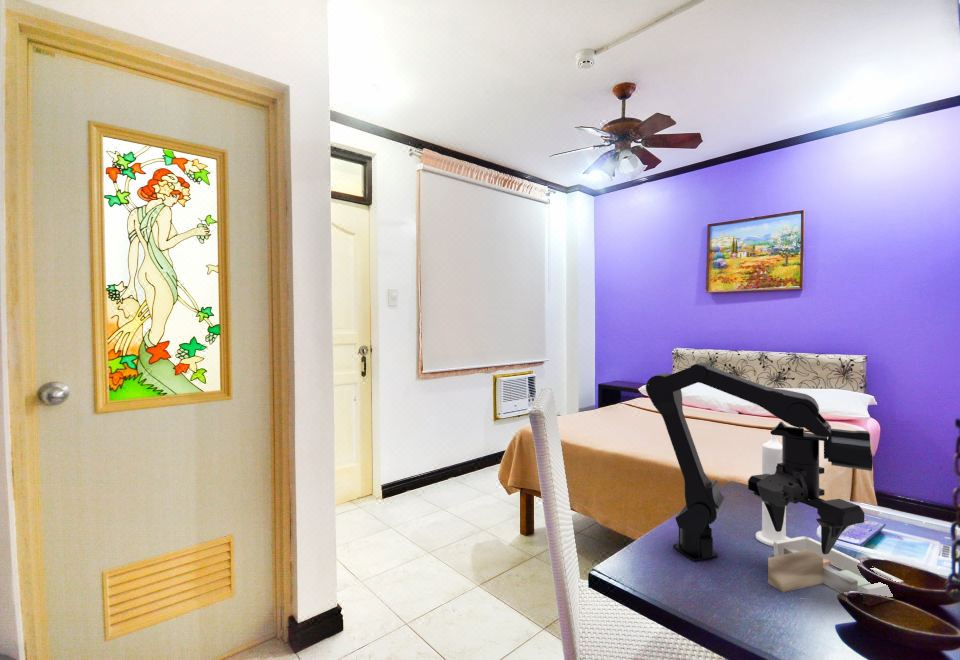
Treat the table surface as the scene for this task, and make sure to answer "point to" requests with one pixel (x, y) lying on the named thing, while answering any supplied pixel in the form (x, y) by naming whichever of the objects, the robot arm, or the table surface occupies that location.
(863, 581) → the tile sage
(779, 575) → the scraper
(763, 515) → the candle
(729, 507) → the table surface
